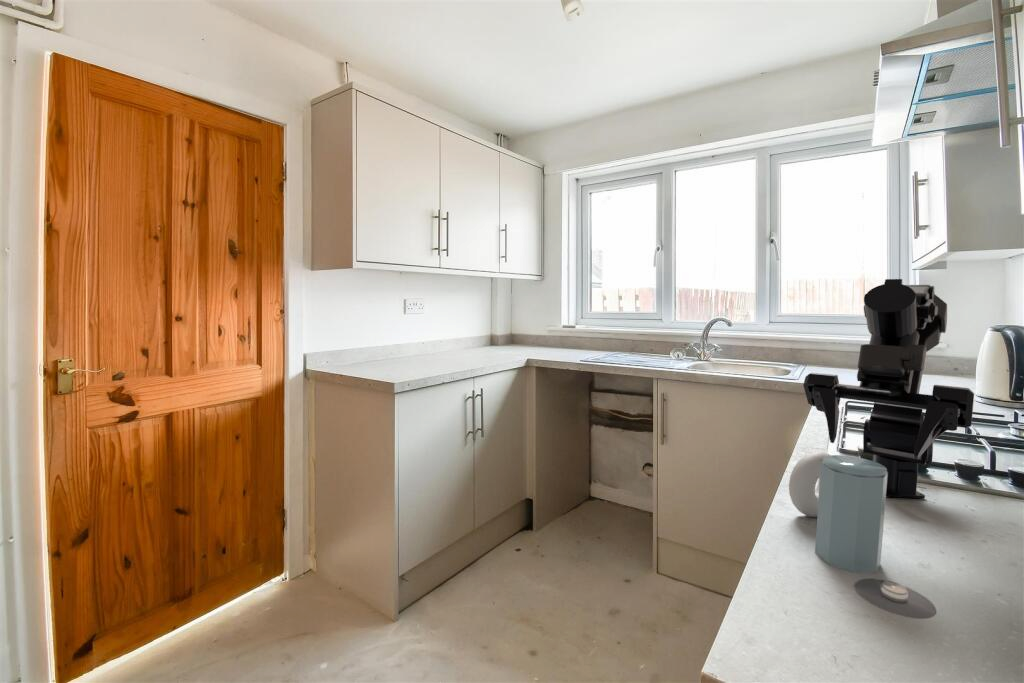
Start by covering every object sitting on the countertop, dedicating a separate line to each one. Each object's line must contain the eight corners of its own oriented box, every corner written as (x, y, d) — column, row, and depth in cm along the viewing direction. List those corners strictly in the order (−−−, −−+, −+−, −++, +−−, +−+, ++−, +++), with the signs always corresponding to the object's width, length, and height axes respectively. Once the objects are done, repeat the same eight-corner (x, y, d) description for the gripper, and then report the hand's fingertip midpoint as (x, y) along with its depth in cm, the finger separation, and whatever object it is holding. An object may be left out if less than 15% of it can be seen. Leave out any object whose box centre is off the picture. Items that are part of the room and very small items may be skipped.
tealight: (874, 589, 54) (875, 579, 54) (897, 591, 54) (898, 580, 54) (889, 603, 52) (890, 592, 52) (913, 604, 52) (914, 593, 51)
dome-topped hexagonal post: (806, 546, 64) (812, 454, 63) (854, 548, 64) (861, 455, 63) (837, 574, 58) (845, 472, 57) (891, 575, 58) (900, 473, 57)
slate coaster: (841, 579, 57) (841, 576, 57) (904, 583, 56) (904, 580, 56) (881, 618, 50) (881, 615, 50) (953, 623, 49) (954, 620, 49)
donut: (825, 506, 77) (830, 445, 76) (847, 515, 74) (852, 452, 73) (781, 516, 73) (785, 452, 72) (802, 526, 70) (806, 459, 69)
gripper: (810, 320, 73) (784, 404, 67) (980, 325, 60) (969, 431, 54) (820, 364, 80) (797, 445, 73) (976, 378, 67) (965, 478, 60)
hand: (871, 448), depth 65 cm, fingers open, 9 cm apart
